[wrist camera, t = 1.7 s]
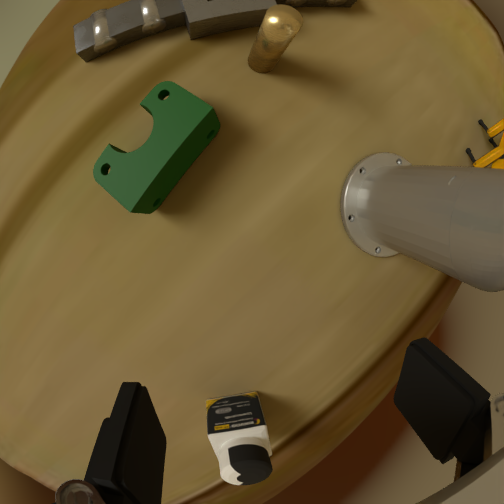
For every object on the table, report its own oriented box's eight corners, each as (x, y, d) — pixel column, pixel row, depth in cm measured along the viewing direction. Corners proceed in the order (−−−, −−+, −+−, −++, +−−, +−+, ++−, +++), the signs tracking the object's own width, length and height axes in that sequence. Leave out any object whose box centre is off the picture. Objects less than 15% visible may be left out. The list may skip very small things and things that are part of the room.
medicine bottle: (257, 389, 36) (275, 457, 24) (263, 421, 38) (280, 483, 26) (205, 398, 35) (209, 468, 24) (216, 429, 37) (223, 493, 26)
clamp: (177, 123, 31) (178, 67, 22) (215, 151, 31) (226, 97, 22) (100, 194, 27) (73, 148, 18) (138, 228, 27) (119, 190, 18)
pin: (270, 48, 26) (295, 3, 16) (278, 70, 27) (308, 30, 17) (244, 52, 26) (260, 6, 16) (252, 75, 26) (272, 34, 17)
